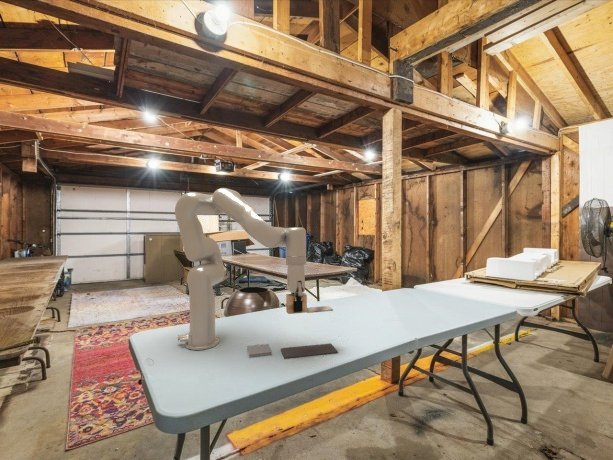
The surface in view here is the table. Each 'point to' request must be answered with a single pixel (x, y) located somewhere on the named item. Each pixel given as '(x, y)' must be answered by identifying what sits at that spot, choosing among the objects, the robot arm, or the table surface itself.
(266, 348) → the tile
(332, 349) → the mat
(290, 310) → the tan stepped block piece
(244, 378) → the table surface
